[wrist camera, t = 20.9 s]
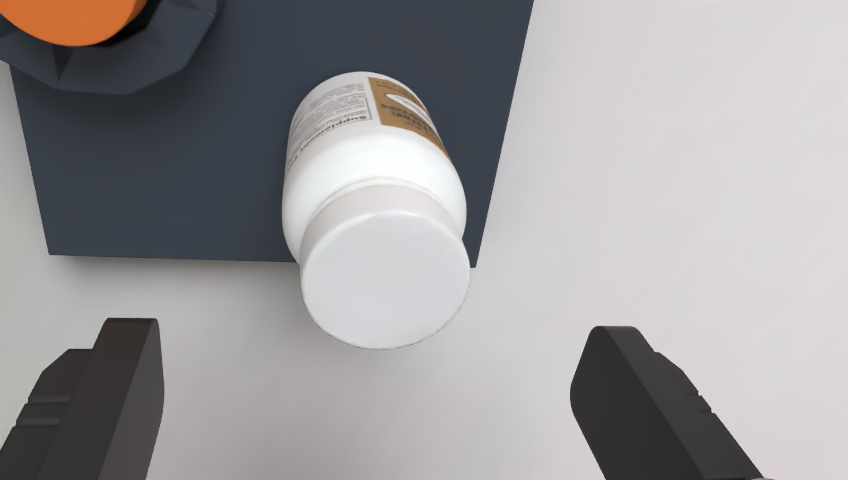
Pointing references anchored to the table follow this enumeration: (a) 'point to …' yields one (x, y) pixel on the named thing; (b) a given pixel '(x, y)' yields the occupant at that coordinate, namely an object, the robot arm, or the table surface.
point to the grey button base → (242, 114)
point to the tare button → (71, 18)
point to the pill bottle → (373, 214)
